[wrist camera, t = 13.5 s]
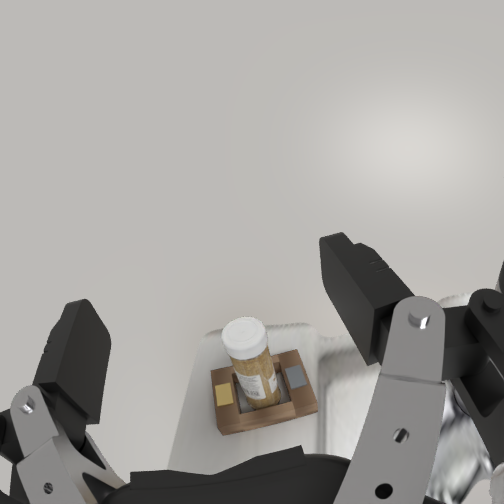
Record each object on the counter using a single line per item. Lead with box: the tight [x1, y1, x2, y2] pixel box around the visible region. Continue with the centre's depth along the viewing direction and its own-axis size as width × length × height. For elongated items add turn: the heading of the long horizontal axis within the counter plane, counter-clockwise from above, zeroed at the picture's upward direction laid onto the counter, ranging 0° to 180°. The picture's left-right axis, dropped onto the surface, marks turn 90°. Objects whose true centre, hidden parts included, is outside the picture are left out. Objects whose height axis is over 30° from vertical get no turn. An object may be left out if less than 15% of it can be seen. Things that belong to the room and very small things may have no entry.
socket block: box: [211, 349, 318, 435], centre depth 37 cm, size 12×9×2 cm
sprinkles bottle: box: [221, 317, 281, 410], centre depth 34 cm, size 5×5×13 cm
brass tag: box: [215, 383, 234, 407], centre depth 36 cm, size 2×3×1 cm, turn 10°
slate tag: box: [285, 365, 307, 390], centre depth 36 cm, size 2×3×1 cm, turn 10°
